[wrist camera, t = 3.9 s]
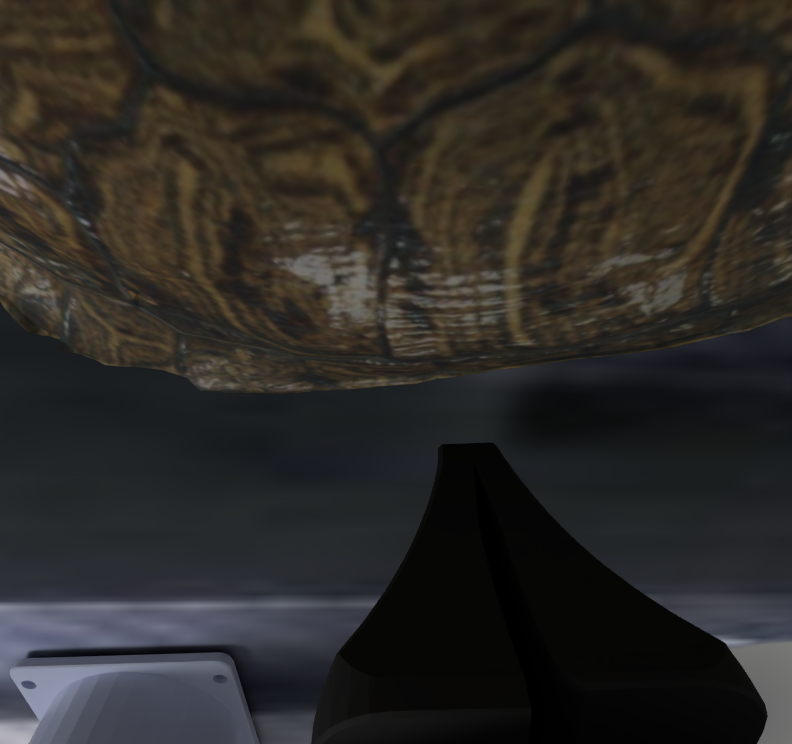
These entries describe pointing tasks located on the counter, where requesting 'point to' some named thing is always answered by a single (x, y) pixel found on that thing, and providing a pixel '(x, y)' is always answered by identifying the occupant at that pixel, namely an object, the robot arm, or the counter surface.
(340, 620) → the counter surface
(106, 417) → the counter surface
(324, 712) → the robot arm
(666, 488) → the counter surface
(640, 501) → the counter surface
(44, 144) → the turtle shell
